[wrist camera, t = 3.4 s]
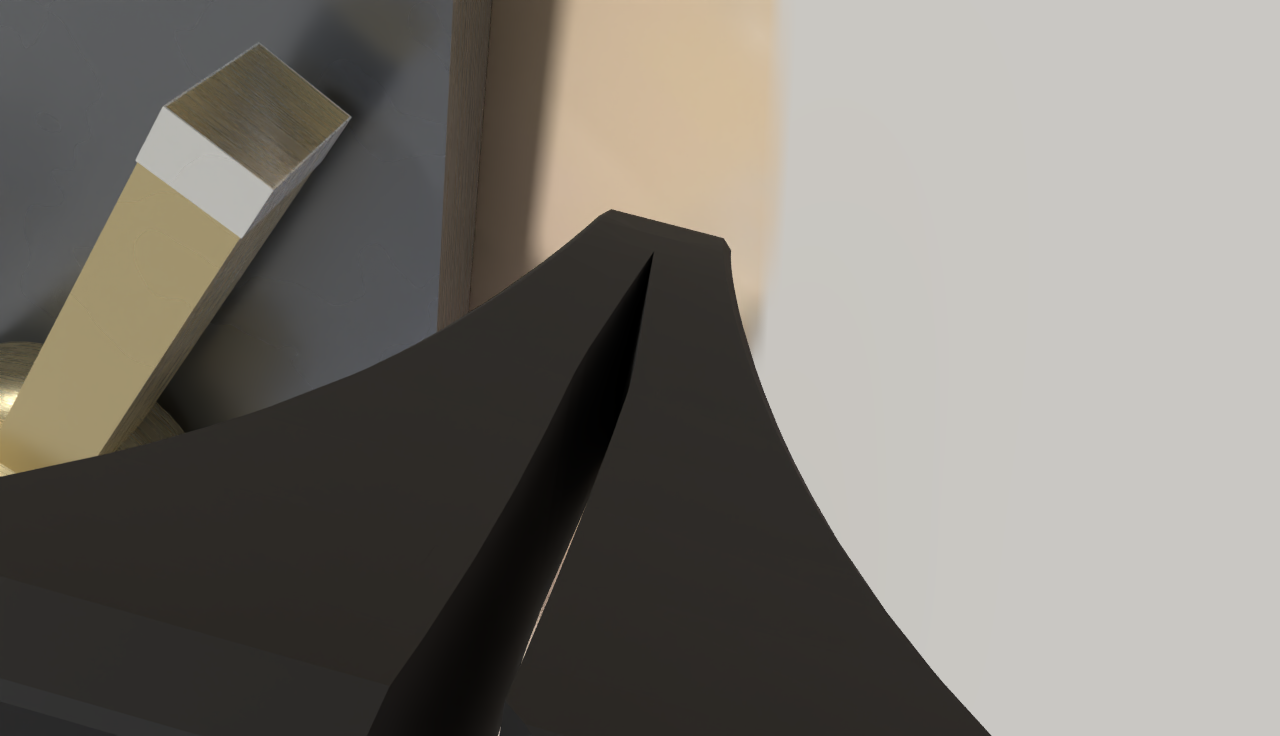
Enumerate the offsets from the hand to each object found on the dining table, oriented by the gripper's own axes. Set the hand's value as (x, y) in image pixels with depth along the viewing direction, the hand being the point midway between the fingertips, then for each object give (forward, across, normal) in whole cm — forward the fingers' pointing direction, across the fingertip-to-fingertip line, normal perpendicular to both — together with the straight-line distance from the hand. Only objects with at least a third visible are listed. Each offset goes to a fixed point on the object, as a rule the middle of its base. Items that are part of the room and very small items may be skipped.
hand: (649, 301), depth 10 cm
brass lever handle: (+2, +7, +4) cm, 8 cm away
